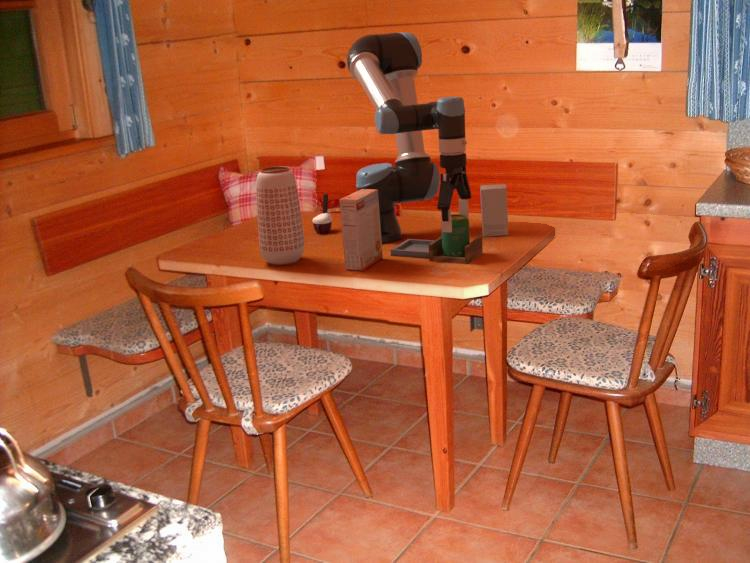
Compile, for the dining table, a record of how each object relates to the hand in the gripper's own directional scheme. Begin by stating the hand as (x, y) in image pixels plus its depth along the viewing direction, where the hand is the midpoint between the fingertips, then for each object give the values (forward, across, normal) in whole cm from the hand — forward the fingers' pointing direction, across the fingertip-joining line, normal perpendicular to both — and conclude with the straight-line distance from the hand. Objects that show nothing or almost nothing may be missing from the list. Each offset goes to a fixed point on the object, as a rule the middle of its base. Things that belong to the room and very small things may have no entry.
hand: (455, 226), depth 248 cm
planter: (+9, -17, +49) cm, 53 cm away
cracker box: (+9, -13, +24) cm, 29 cm away
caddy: (+9, 0, 0) cm, 9 cm away
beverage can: (+9, 0, 0) cm, 9 cm away
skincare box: (+9, +28, -2) cm, 29 cm away
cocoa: (+9, +18, +55) cm, 58 cm away
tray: (+9, +3, +13) cm, 16 cm away
